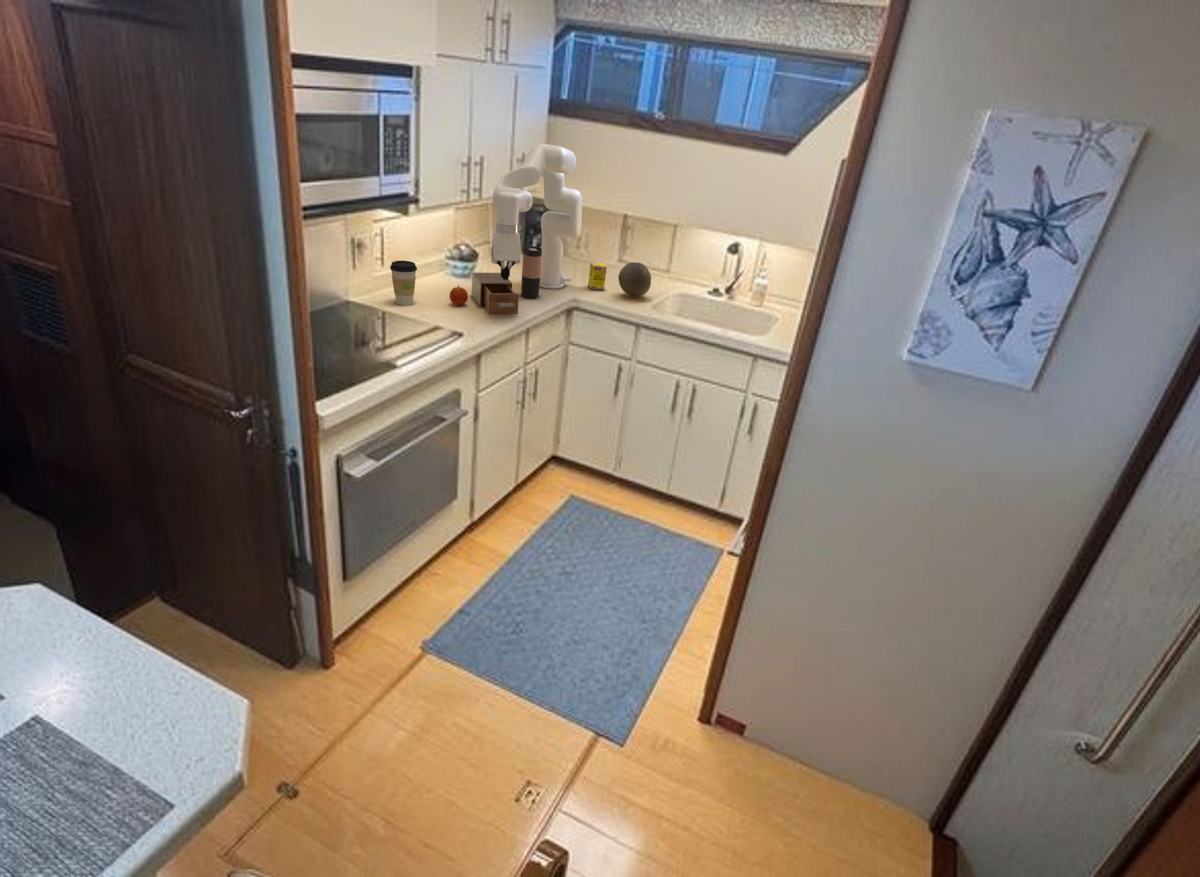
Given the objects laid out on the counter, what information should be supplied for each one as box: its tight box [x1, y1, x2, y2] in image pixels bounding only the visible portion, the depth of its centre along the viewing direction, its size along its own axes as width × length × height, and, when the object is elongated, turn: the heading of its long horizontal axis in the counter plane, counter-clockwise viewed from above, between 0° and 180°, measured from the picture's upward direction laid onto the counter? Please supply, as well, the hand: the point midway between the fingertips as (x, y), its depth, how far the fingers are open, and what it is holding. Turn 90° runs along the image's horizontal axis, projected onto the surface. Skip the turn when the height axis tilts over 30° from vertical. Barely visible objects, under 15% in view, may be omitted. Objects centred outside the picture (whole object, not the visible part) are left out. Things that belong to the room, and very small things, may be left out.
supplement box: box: [587, 262, 607, 292], centre depth 308 cm, size 6×6×11 cm
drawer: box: [482, 285, 520, 315], centre depth 264 cm, size 18×11×8 cm, turn 22°
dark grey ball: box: [618, 262, 652, 298], centre depth 301 cm, size 14×14×15 cm
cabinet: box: [471, 272, 513, 308], centre depth 275 cm, size 15×13×10 cm
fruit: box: [449, 284, 469, 307], centre depth 267 cm, size 7×7×8 cm
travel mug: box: [520, 245, 542, 300], centre depth 285 cm, size 8×8×20 cm
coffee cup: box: [389, 260, 418, 306], centre depth 261 cm, size 10×10×15 cm
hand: (505, 278), depth 255 cm, fingers closed
